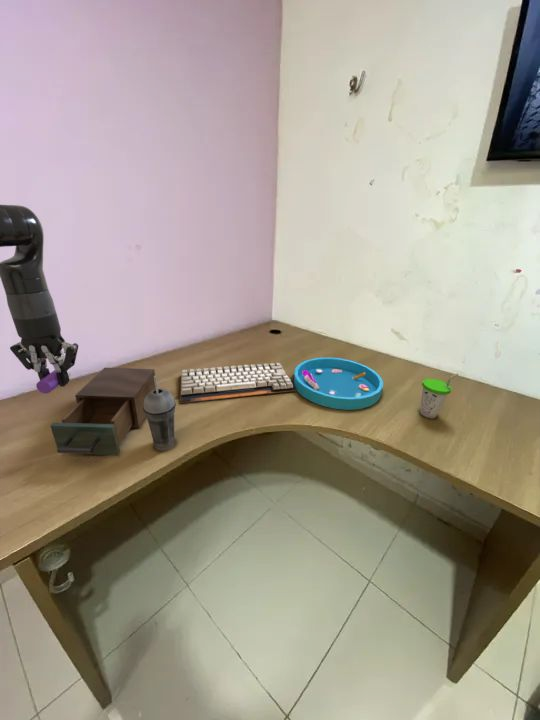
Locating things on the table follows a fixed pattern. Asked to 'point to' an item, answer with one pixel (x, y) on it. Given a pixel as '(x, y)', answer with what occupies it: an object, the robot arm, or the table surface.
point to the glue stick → (49, 382)
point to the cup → (434, 396)
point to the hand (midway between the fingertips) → (56, 384)
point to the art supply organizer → (338, 383)
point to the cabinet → (121, 388)
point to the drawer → (94, 427)
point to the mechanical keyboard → (233, 382)
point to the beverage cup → (160, 417)
